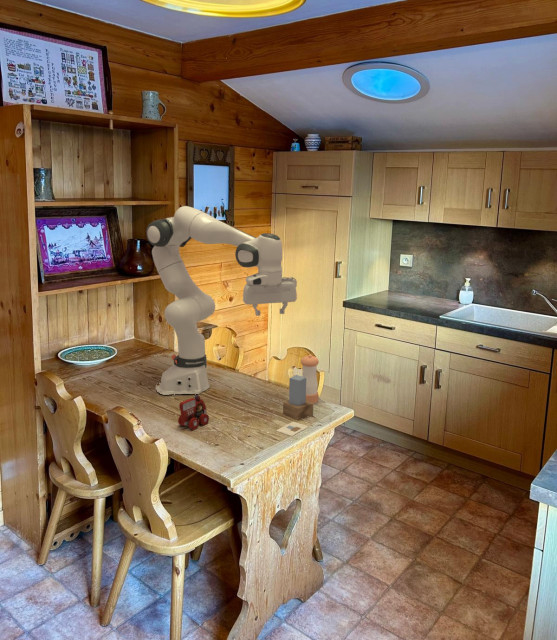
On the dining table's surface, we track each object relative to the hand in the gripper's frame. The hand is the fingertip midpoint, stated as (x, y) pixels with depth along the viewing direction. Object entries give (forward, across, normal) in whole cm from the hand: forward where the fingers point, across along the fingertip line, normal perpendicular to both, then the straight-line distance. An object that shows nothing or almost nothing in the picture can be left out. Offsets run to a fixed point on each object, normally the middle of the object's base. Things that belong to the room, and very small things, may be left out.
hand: (270, 314), depth 228 cm
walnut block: (+37, -8, +10) cm, 40 cm away
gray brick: (+32, -8, +10) cm, 35 cm away
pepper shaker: (+37, -17, -2) cm, 41 cm away
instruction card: (+37, -2, +22) cm, 43 cm away
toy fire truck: (+37, +31, +8) cm, 49 cm away
